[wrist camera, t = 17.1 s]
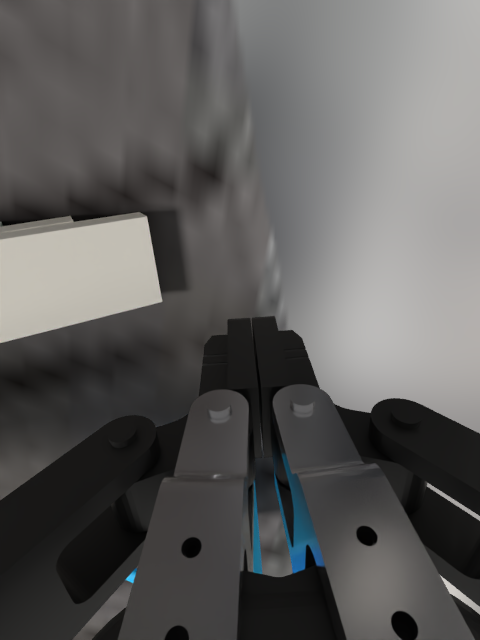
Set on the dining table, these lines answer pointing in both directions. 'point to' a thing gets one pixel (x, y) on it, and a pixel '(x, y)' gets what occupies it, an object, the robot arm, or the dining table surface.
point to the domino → (75, 273)
